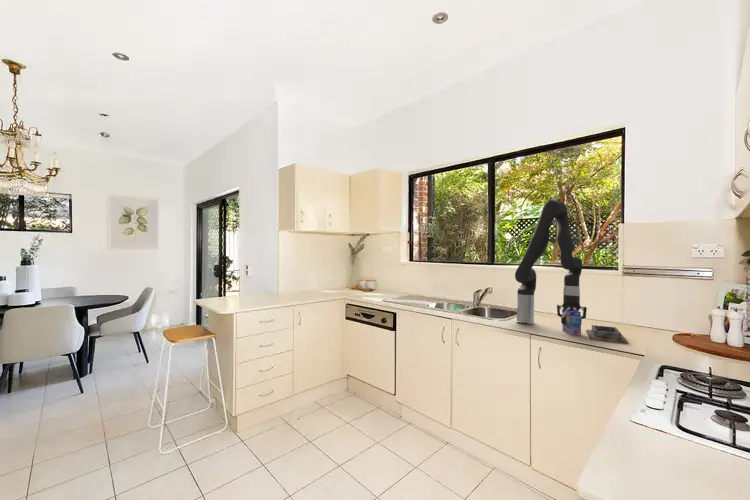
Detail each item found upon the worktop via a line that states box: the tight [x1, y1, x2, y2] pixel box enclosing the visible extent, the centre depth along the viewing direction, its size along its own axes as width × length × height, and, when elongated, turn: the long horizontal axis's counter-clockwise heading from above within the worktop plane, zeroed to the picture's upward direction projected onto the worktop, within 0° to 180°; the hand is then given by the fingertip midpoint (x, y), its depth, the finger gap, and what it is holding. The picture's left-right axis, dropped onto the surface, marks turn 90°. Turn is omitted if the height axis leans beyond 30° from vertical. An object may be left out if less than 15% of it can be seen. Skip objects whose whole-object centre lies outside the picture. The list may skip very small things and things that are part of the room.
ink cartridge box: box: [561, 306, 582, 336], centre depth 178 cm, size 10×6×14 cm, turn 174°
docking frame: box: [585, 324, 629, 345], centre depth 170 cm, size 15×18×4 cm
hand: (571, 325), depth 178 cm, fingers closed on ink cartridge box, 6 cm apart
